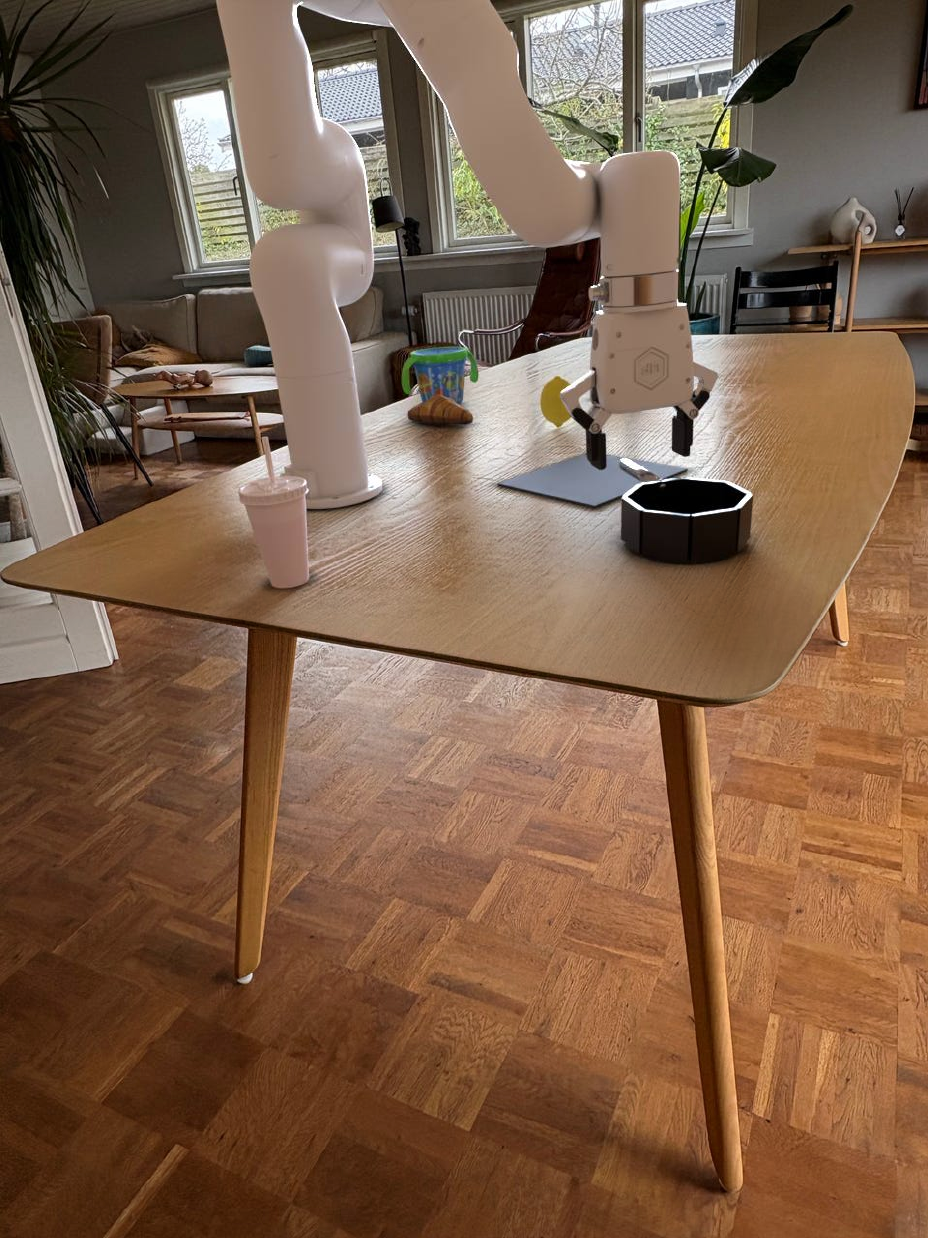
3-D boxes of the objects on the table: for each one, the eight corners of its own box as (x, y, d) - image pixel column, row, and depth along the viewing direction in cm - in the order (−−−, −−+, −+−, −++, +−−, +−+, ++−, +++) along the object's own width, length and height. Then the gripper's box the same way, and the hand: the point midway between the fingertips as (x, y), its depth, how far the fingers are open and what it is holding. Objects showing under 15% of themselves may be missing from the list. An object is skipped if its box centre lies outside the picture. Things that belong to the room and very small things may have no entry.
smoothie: (326, 565, 82) (303, 427, 76) (318, 590, 76) (293, 444, 70) (263, 571, 82) (236, 433, 76) (251, 596, 76) (219, 450, 70)
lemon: (575, 422, 131) (574, 371, 128) (576, 430, 126) (575, 377, 123) (541, 424, 132) (539, 374, 129) (541, 432, 127) (539, 380, 124)
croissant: (483, 421, 137) (481, 391, 135) (460, 430, 132) (457, 399, 130) (422, 417, 145) (419, 388, 143) (397, 425, 140) (394, 396, 138)
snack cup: (467, 396, 159) (463, 342, 155) (493, 403, 151) (489, 346, 146) (394, 409, 153) (388, 353, 149) (417, 417, 145) (411, 358, 140)
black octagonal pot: (769, 552, 76) (774, 502, 74) (654, 571, 74) (656, 521, 72) (668, 491, 95) (669, 450, 93) (575, 505, 93) (574, 463, 91)
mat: (594, 508, 92) (594, 505, 92) (497, 485, 103) (497, 483, 103) (687, 470, 102) (687, 468, 102) (589, 453, 113) (589, 451, 113)
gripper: (570, 305, 76) (576, 480, 84) (737, 284, 79) (729, 456, 86) (545, 301, 83) (553, 464, 90) (701, 282, 86) (696, 442, 93)
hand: (639, 460), depth 88 cm, fingers open, 9 cm apart
